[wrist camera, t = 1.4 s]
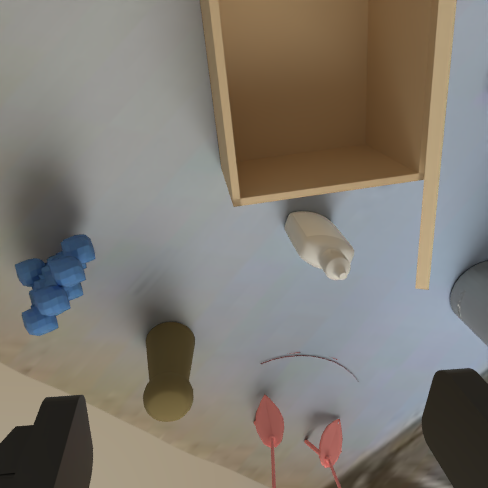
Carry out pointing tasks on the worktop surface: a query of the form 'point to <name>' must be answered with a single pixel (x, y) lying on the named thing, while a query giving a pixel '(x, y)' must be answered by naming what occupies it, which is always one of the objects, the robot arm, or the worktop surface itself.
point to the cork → (169, 371)
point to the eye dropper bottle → (320, 243)
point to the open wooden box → (319, 93)
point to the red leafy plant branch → (329, 448)
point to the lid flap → (435, 137)
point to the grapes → (54, 283)
